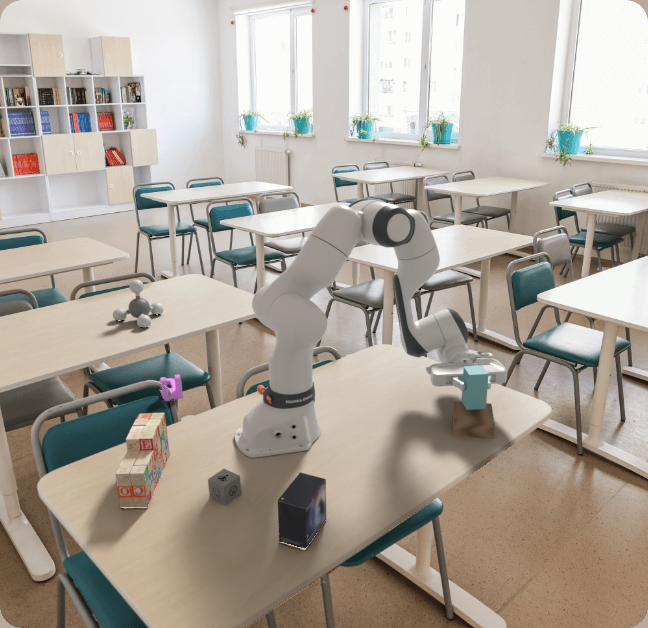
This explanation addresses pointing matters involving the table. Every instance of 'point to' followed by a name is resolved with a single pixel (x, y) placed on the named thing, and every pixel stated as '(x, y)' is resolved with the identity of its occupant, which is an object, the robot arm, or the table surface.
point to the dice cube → (224, 486)
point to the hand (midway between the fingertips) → (476, 387)
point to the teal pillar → (475, 387)
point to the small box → (302, 510)
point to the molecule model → (138, 307)
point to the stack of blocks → (143, 460)
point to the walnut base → (473, 421)
